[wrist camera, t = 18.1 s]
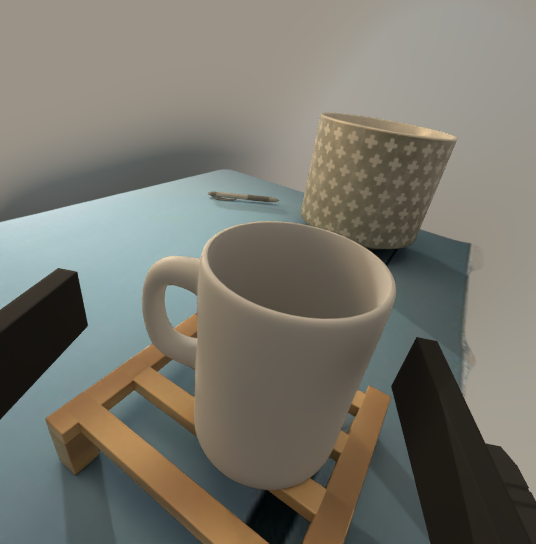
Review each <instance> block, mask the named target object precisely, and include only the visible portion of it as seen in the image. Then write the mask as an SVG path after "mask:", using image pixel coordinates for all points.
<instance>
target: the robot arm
mask: <svg viewBox="0 0 536 544" xmlns="http://www.w3.org/2000/svg"><path fill="white" fill-rule="evenodd" d="M87 326H88V323H87V318H86V313H85V308H84V303H83V298H82V293H81V288H80V283H79V278H78V273H77V272H76V271H70V270H65V269H60V268H58V269H56V270H55V271H54V272H52V273H51V274H49V275H48V276H47V277H45V278H44V279H42V280H41V281H40V282H38V283H37V284H35V285H34V286H33V287H31V288H30V289H29V290H27V291H26V292H24V293H23V294H22V295H20V296H19V297H17V298H16V299H15V300H13V301H12V302H10V303H9V304H8V305H6V306H5V307H4V308H2V309H1V310H0V419H1V418H2V417H3V416H4V415H5V414H6V413H7V412H8V411H9V410H10V409H11V408H12V406H13V405H14V404H15V403H16V402H17V401H18V400H19V399H20V398H21V397H22V396H23V395H24V394H25V393H26V391H27V390H28V389H29V388H30V387H31V386H32V385H33V384H34V383H35V382H36V381H37V380H38V379H39V378H40V377H41V375H42V374H43V373H44V372H45V371H46V370H47V369H48V368H49V367H50V366H51V365H52V364H53V363H54V362H55V361H56V359H57V358H58V357H59V356H60V355H61V354H62V353H63V352H64V351H65V350H66V349H67V348H68V347H69V346H70V344H71V343H72V342H73V341H74V340H75V339H76V338H77V337H78V336H79V335H80V334H81V333H82V332H83V331H84V330H85V328H86V327H87ZM391 387H392V391H393V395H394V399H395V403H396V407H397V411H398V415H399V419H400V423H401V427H402V431H403V435H404V439H405V443H406V447H407V451H408V455H409V459H410V463H411V467H412V471H413V475H414V479H415V483H416V487H417V491H418V495H419V499H420V503H421V507H422V511H423V515H424V519H425V523H426V527H427V531H428V535H429V539H430V543H431V544H536V501H535V499H534V497H533V495H532V493H531V492H529V490H528V488H529V487H528V485H527V483H526V482H525V480H524V478H523V476H522V474H521V472H520V470H519V468H518V466H517V465H516V464H515V463H514V462H513V460H512V459H511V458H510V457H509V456H508V455H507V453H506V452H505V451H504V450H503V449H502V448H501V447H500V446H495V445H490V444H485V442H484V440H483V438H482V435H481V433H480V431H479V429H478V427H477V425H476V423H475V421H474V419H473V416H472V414H471V412H470V410H469V408H468V406H467V404H466V401H465V399H464V397H463V395H462V393H461V391H460V389H459V387H458V384H457V382H456V380H455V378H454V376H453V374H452V372H451V370H450V367H449V365H448V363H447V361H446V359H445V357H444V355H443V353H442V350H441V348H440V346H439V344H438V342H437V341H433V340H428V339H423V338H418V337H416V339H415V341H414V343H413V345H412V347H411V349H410V351H409V353H408V355H407V357H406V359H405V361H404V362H403V364H402V366H401V368H400V370H399V372H398V374H397V376H396V378H395V380H394V382H393V384H392V386H391Z"/></svg>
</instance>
